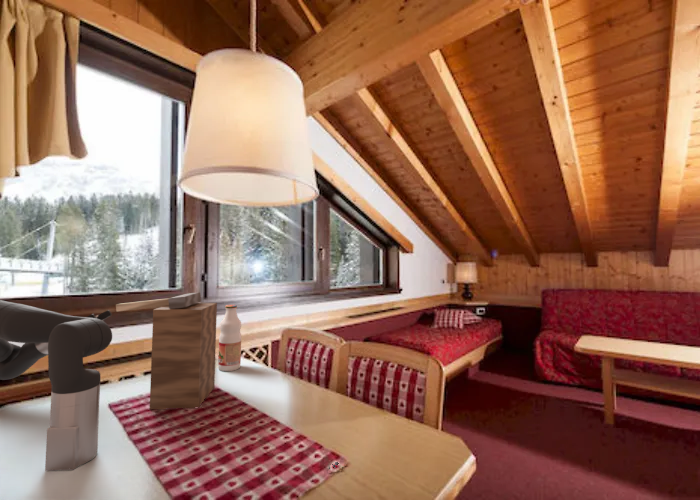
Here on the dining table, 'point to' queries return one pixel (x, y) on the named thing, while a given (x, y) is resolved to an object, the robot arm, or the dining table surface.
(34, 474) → the dining table surface
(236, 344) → the fruit juice
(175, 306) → the scraper
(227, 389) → the dining table surface
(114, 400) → the dining table surface
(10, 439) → the dining table surface
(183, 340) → the stand
